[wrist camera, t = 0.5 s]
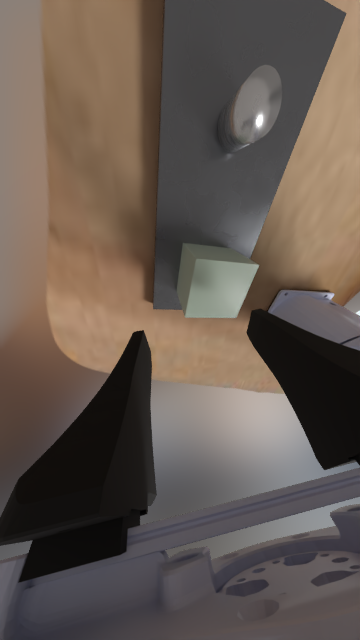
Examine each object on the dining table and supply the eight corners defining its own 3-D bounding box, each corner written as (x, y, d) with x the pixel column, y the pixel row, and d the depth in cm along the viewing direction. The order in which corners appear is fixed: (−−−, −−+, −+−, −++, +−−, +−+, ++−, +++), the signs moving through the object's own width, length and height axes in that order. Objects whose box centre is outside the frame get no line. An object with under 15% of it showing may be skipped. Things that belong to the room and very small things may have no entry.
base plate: (326, 31, 10) (420, -56, 6) (225, 305, 21) (240, 325, 18) (165, -54, 7) (180, -255, 4) (153, 303, 19) (154, 324, 16)
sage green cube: (231, 248, 15) (259, 264, 12) (217, 293, 18) (236, 317, 15) (182, 242, 14) (196, 258, 11) (176, 291, 17) (185, 317, 13)
